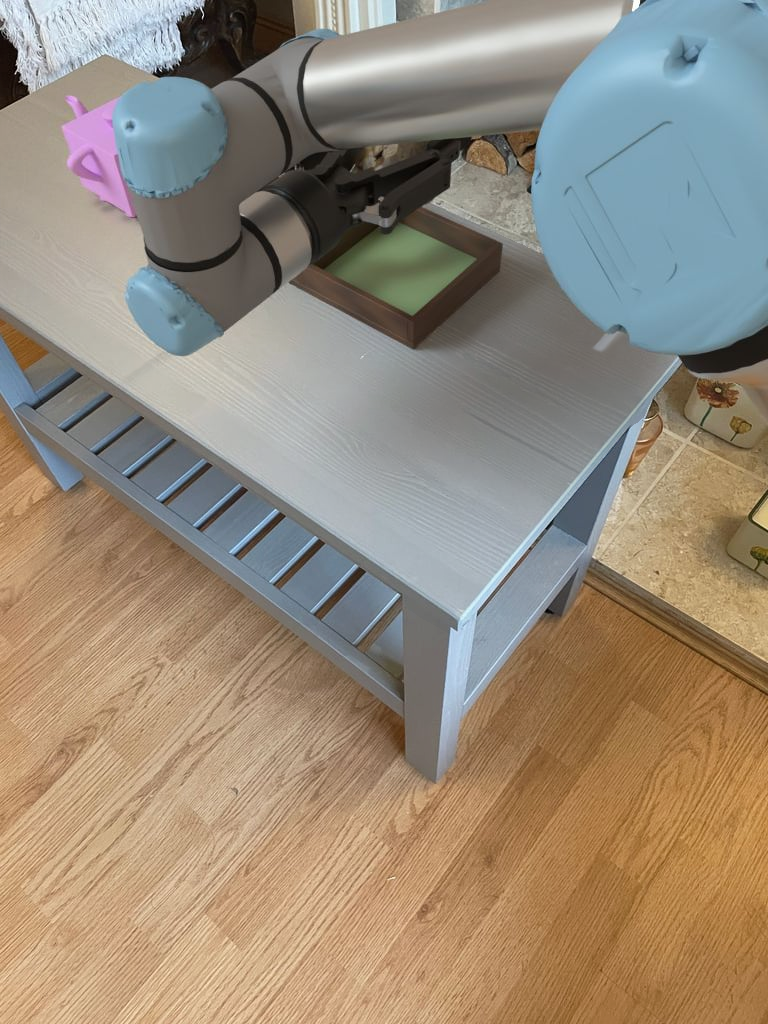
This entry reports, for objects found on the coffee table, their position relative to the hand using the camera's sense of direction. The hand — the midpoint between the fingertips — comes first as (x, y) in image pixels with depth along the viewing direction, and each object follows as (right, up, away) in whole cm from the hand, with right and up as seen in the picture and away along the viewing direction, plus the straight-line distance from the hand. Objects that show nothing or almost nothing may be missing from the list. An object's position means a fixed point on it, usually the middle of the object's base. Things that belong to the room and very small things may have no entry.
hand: (440, 117), depth 81 cm
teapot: (-38, +1, +24) cm, 44 cm away
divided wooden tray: (-10, -9, +16) cm, 20 cm away
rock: (-3, -7, +3) cm, 8 cm away
